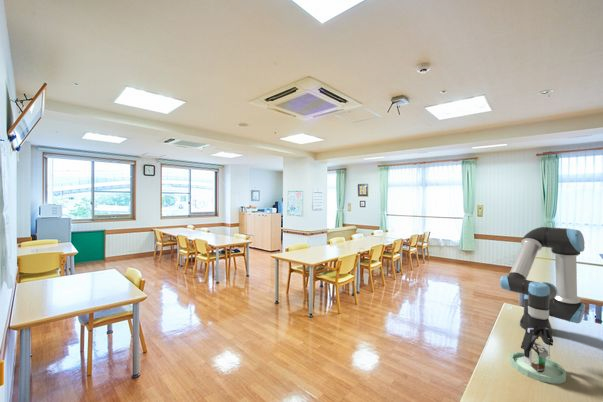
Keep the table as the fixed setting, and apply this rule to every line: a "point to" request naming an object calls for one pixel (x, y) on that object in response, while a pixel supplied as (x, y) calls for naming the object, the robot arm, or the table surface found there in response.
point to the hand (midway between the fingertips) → (536, 360)
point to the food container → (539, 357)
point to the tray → (550, 374)
